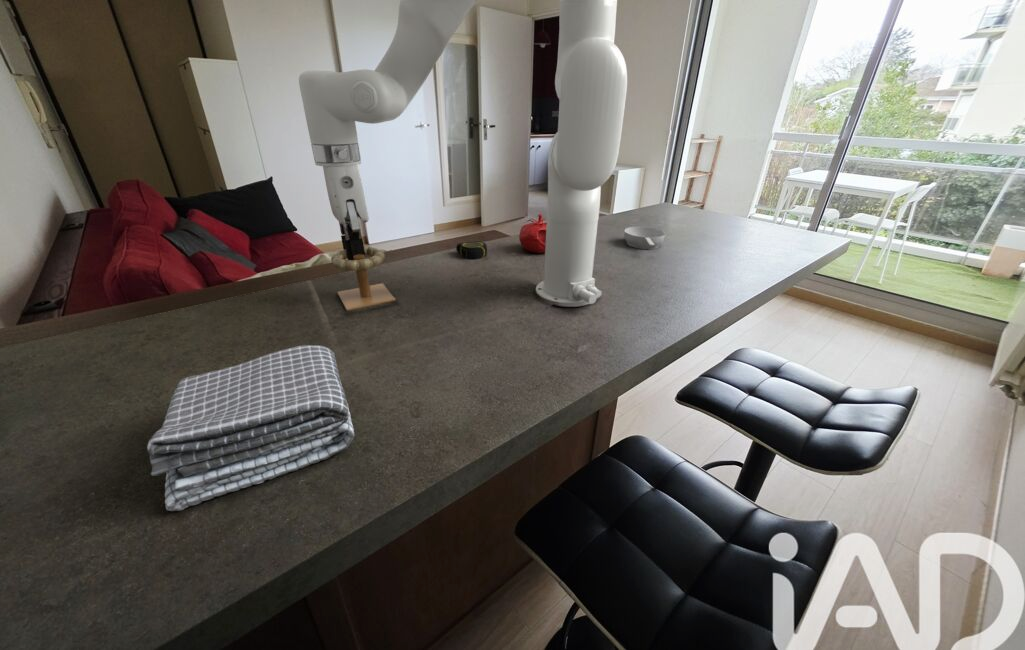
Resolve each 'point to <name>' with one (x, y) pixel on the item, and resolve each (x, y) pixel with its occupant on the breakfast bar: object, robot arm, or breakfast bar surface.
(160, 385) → the breakfast bar surface
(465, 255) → the tape measure
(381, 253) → the beige beaded ring
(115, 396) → the breakfast bar surface
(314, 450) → the towel
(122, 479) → the breakfast bar surface
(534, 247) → the pomegranate
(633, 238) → the small pan
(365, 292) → the ring toss peg
